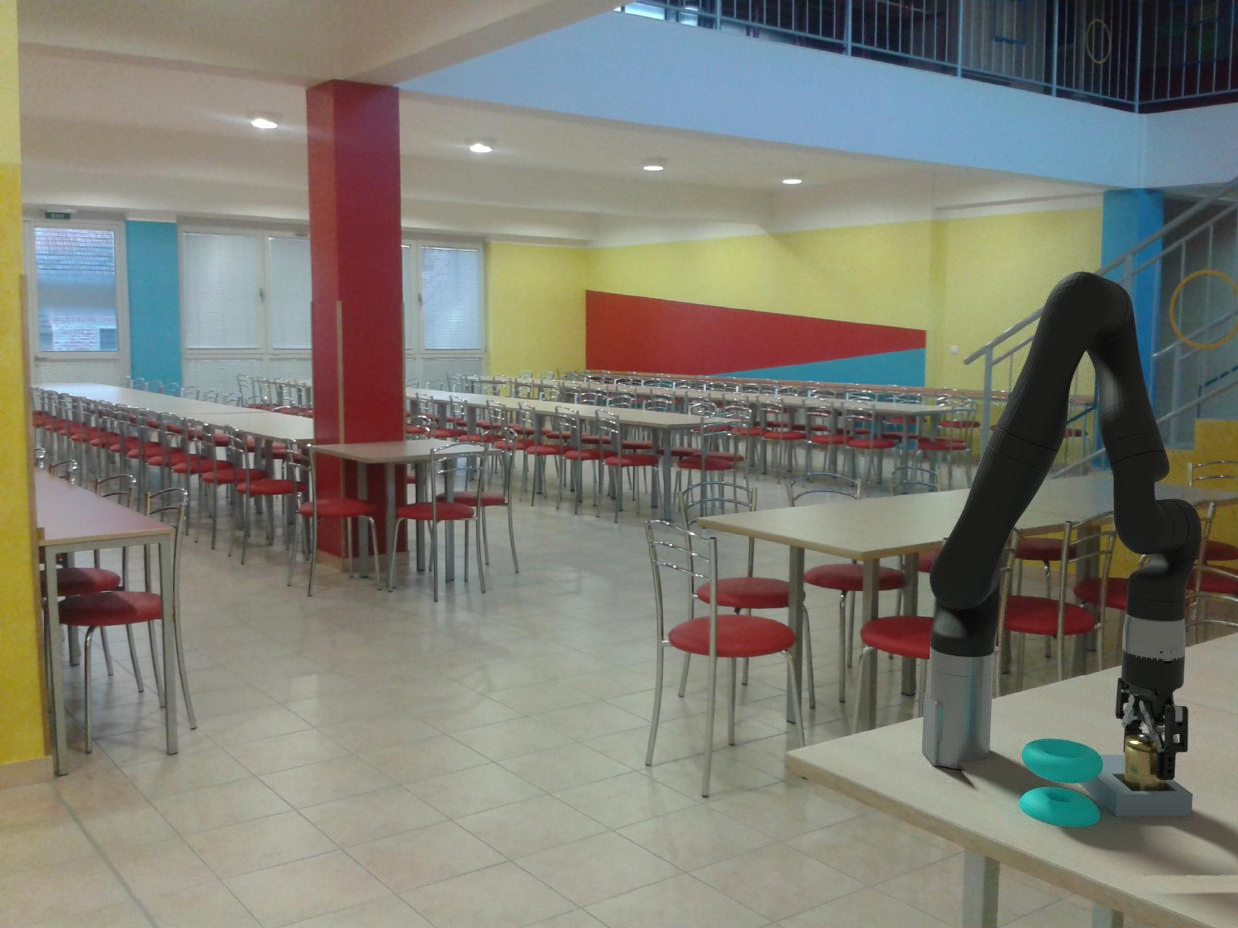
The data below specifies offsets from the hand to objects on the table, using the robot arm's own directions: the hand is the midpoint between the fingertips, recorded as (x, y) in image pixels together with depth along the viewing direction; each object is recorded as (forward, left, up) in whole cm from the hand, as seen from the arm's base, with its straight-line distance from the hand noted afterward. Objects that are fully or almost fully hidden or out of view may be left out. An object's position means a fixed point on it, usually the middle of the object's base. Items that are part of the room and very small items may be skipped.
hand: (1148, 766), depth 148 cm
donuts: (-13, -2, -7) cm, 15 cm away
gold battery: (-1, 0, -5) cm, 5 cm away
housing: (-1, +3, -7) cm, 7 cm away
